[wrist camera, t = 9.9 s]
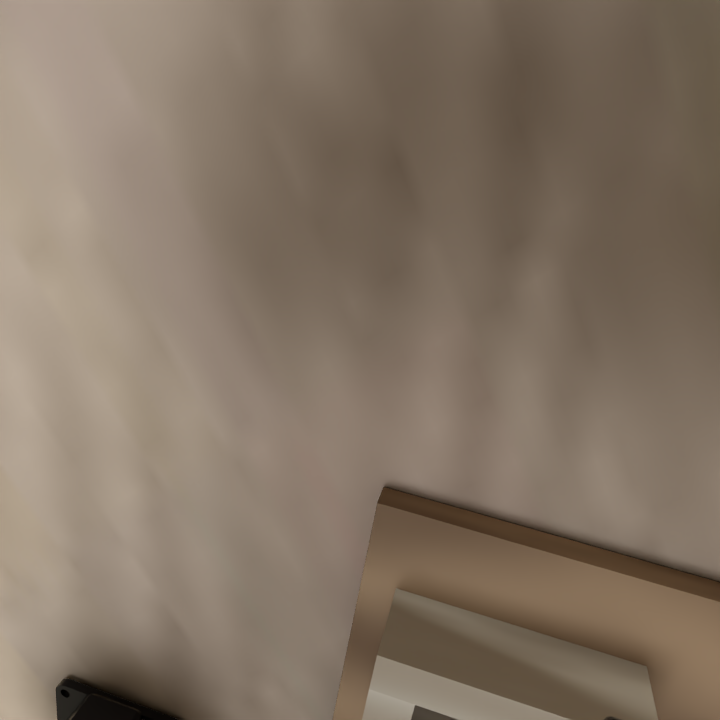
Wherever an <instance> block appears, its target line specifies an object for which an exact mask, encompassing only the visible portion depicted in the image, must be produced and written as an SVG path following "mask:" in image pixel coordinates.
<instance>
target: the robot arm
mask: <svg viewBox="0 0 720 720" xmlns="http://www.w3.org/2000/svg"><path fill="white" fill-rule="evenodd" d="M56 701H57V720H178V719H176V718H173V717H171V716H168V715H165V714H163V713H160V712H157V711H155V710H152V709H149V708H147V707H144V706H141V705H138V704H136V703H133V702H130V701H128V700H125V699H122V698H120V697H117V696H114V695H112V694H109V693H106V692H103V691H101V690H98V689H95V688H93V687H90V686H87V685H85V684H82V683H79V682H77V681H74V680H71V679H63V680H62V681H61V683H60V684H59V685H58V686H57V687H56ZM604 720H622V719H619V718H616V717H613V716H608V717H606V718H605V719H604Z"/></svg>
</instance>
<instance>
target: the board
mask: <svg viewBox="0 0 720 720" xmlns="http://www.w3.org/2000/svg"><path fill="white" fill-rule="evenodd" d="M608 716H613V717H616V718H619V719H622V720H720V582H717V581H713V580H710V579H706V578H703V577H699V576H695V575H692V574H688V573H685V572H681V571H678V570H674V569H671V568H667V567H664V566H660V565H657V564H653V563H650V562H646V561H643V560H639V559H636V558H632V557H629V556H625V555H622V554H618V553H615V552H611V551H608V550H604V549H601V548H597V547H594V546H590V545H587V544H583V543H580V542H576V541H572V540H569V539H565V538H562V537H558V536H555V535H551V534H548V533H544V532H541V531H537V530H534V529H530V528H527V527H523V526H520V525H516V524H513V523H509V522H506V521H502V520H499V519H495V518H492V517H488V516H485V515H481V514H478V513H474V512H471V511H467V510H464V509H460V508H457V507H453V506H449V505H446V504H442V503H439V502H435V501H432V500H428V499H425V498H421V497H418V496H414V495H411V494H407V493H404V492H400V491H397V490H393V489H390V488H386V487H384V488H383V490H382V493H381V495H380V498H379V500H378V503H377V507H376V512H375V517H374V522H373V527H372V532H371V536H370V541H369V546H368V551H367V556H366V561H365V565H364V570H363V575H362V580H361V585H360V589H359V594H358V599H357V604H356V609H355V614H354V618H353V623H352V628H351V633H350V638H349V643H348V647H347V652H346V657H345V662H344V667H343V672H342V676H341V681H340V686H339V691H338V696H337V701H336V705H335V710H334V715H333V720H604V719H605V718H606V717H608Z"/></svg>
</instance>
